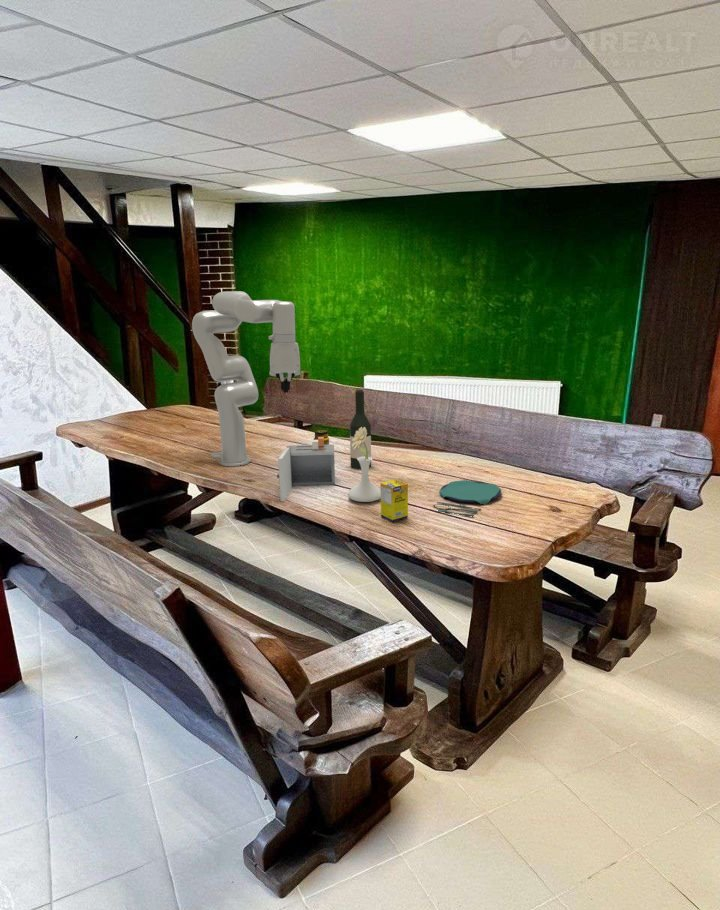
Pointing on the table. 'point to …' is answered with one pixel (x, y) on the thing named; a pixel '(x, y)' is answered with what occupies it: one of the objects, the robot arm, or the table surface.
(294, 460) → the white slider console
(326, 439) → the condiment
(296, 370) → the robot arm
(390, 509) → the supplement box
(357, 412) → the wine bottle
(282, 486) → the door
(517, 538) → the table surface
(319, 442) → the fader
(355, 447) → the flower in vase
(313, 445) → the fader
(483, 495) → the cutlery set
